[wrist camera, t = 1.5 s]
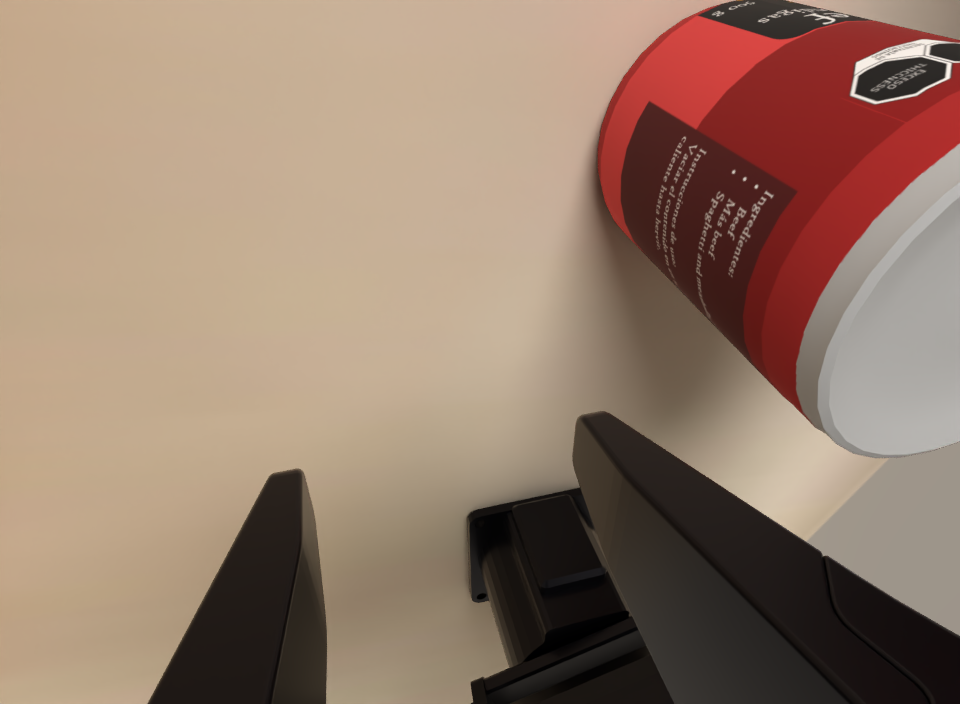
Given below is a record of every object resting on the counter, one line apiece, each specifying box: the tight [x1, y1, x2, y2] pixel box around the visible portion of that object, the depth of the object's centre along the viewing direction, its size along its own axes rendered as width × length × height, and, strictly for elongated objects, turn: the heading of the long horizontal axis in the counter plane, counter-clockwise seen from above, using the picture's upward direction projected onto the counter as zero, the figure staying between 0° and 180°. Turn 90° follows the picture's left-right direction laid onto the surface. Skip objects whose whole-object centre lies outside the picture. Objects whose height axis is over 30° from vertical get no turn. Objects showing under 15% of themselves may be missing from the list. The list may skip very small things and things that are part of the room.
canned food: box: [598, 0, 960, 458], centre depth 16 cm, size 8×8×11 cm
